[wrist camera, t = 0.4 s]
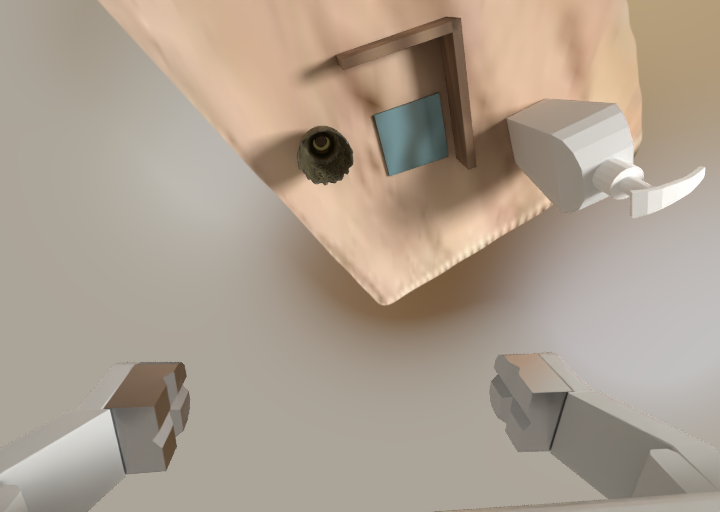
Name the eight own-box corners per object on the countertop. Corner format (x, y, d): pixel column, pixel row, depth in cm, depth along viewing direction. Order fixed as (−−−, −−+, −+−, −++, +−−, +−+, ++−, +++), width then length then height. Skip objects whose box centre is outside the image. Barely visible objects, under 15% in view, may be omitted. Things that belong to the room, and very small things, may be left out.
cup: (285, 132, 55) (286, 149, 49) (329, 105, 54) (335, 119, 48) (313, 173, 59) (316, 194, 53) (353, 149, 58) (362, 168, 52)
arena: (373, 186, 62) (379, 199, 58) (335, 55, 51) (340, 59, 47) (463, 156, 62) (476, 167, 58) (446, 16, 50) (460, 18, 46)
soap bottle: (568, 149, 64) (707, 220, 43) (512, 175, 66) (621, 258, 44) (560, 77, 58) (721, 121, 36) (498, 108, 59) (619, 169, 37)
